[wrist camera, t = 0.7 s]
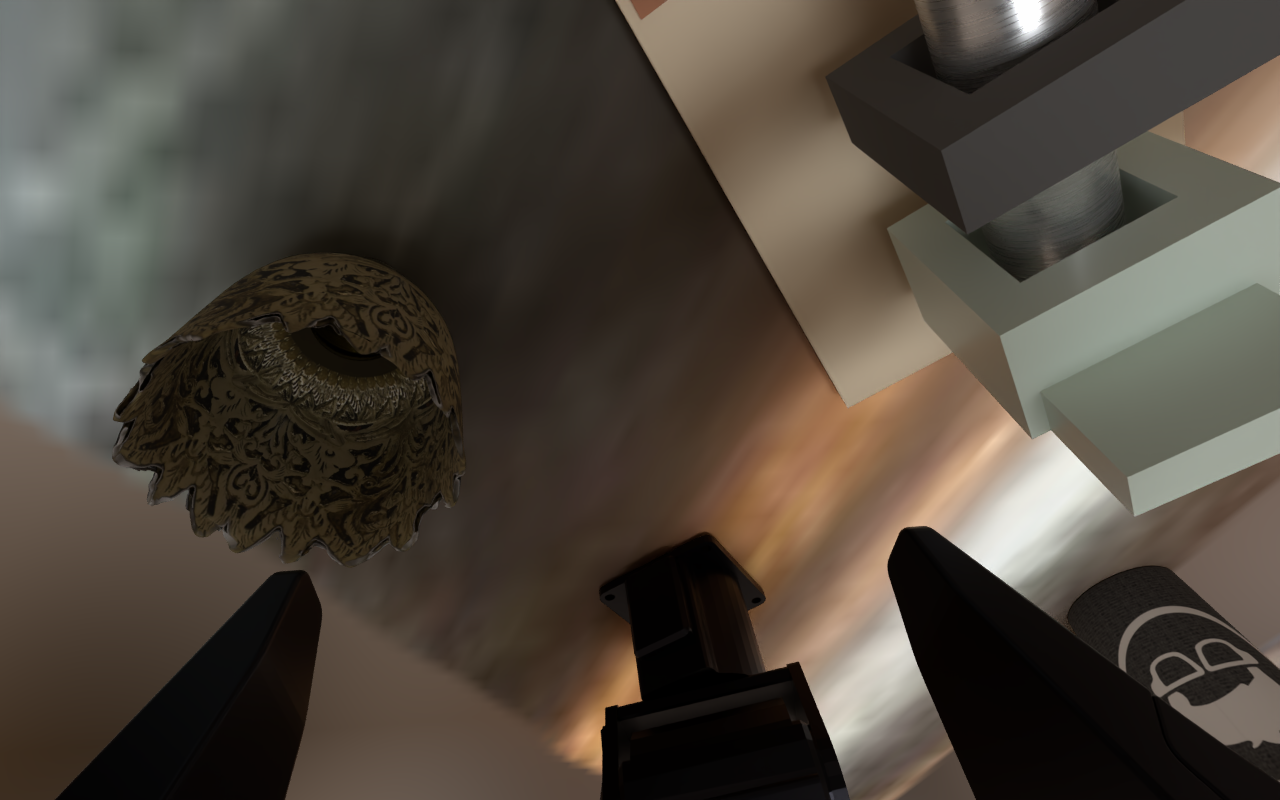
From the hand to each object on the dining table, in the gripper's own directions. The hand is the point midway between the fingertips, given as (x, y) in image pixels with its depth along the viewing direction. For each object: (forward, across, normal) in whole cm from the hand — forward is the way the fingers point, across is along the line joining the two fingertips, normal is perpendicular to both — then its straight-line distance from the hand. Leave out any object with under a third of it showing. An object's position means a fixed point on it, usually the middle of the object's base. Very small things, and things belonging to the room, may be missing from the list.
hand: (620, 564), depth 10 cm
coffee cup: (+14, -33, +24) cm, 44 cm away
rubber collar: (+11, -9, -6) cm, 16 cm away
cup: (+14, +7, +2) cm, 16 cm away
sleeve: (+11, -13, -1) cm, 17 cm away
